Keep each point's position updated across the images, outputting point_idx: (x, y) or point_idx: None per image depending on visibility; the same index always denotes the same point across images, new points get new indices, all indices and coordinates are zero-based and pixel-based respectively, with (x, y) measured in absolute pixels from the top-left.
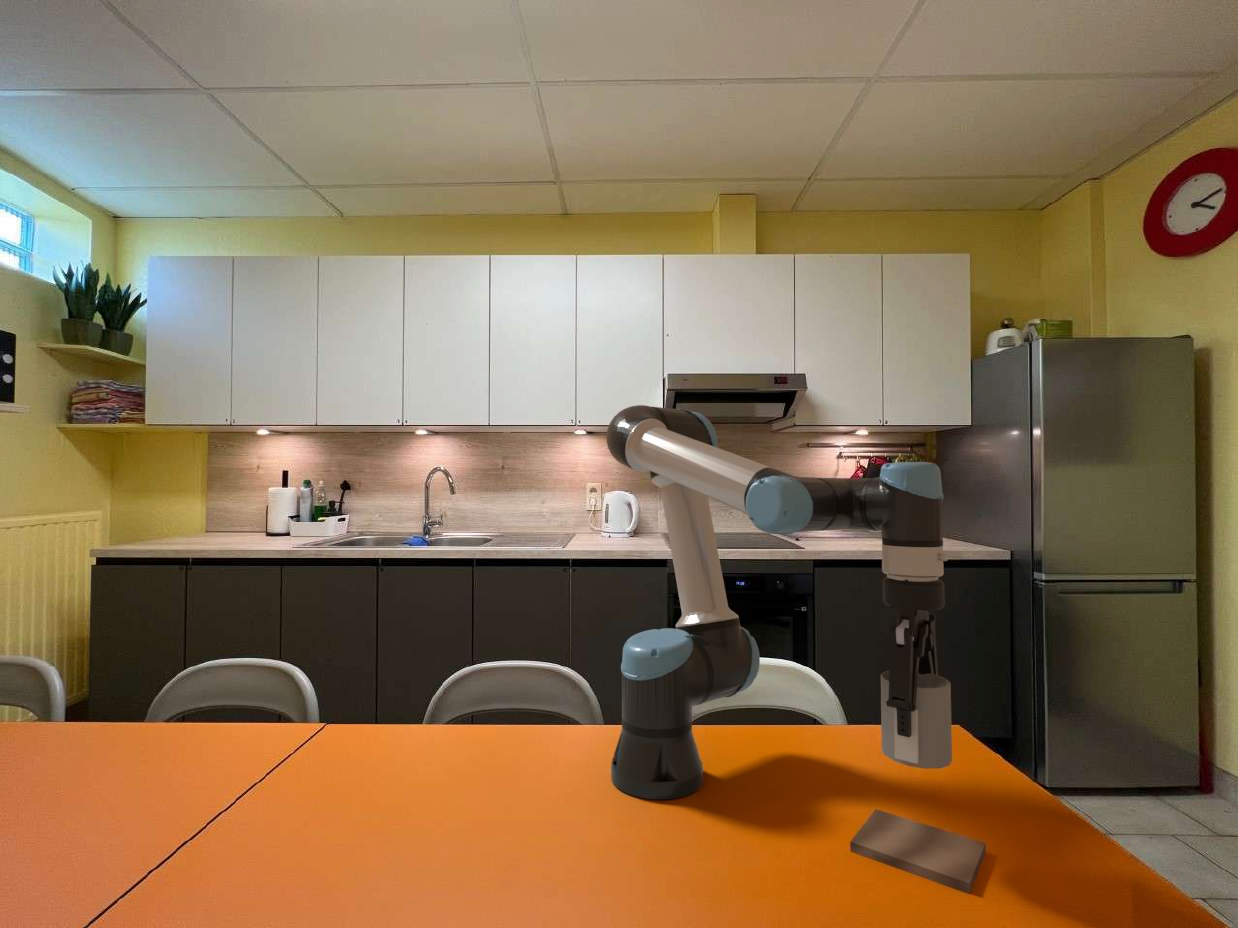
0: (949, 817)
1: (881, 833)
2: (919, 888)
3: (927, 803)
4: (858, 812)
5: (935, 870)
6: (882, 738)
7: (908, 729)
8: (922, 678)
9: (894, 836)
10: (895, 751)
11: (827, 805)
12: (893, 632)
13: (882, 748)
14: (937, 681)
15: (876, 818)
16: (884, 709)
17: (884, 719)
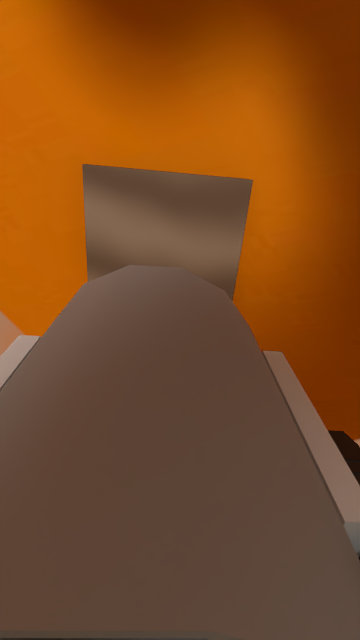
0: (312, 298)
1: (154, 213)
2: (58, 288)
3: (355, 258)
4: (253, 138)
5: None
6: (107, 286)
7: None
8: None
9: (157, 237)
10: (8, 349)
11: (252, 53)
12: None
13: (116, 272)
14: None
15: (210, 190)
16: (6, 387)
17: (34, 351)
